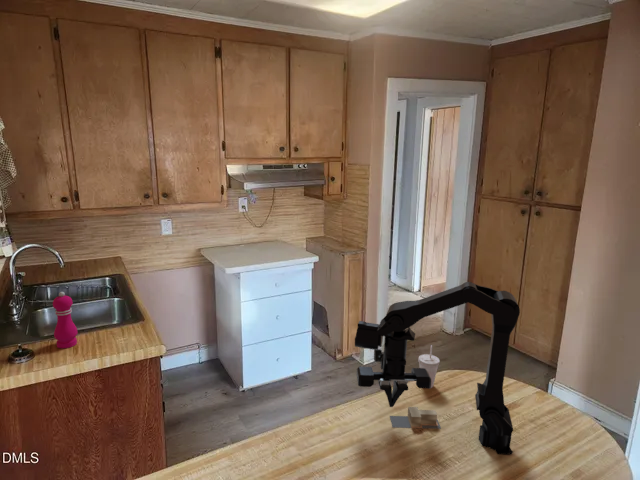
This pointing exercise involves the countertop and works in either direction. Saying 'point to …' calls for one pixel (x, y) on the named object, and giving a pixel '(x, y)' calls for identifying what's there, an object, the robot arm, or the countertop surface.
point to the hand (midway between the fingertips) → (390, 406)
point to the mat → (404, 423)
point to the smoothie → (429, 364)
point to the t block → (421, 417)
